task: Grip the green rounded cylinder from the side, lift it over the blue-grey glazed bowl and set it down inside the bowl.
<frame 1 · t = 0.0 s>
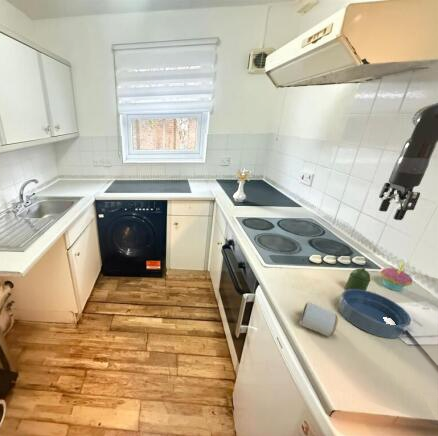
hand: (389, 215, 85), 27 cm above the worktop, tool pointing down, fingers open, 8 cm apart
green rounded cylinder: (354, 291, 89), on the worktop
ceramic mug: (313, 325, 74), on the worktop
bowl: (368, 317, 77), on the worktop
cupcake: (390, 286, 91), on the worktop
flower vase: (239, 201, 185), on the worktop
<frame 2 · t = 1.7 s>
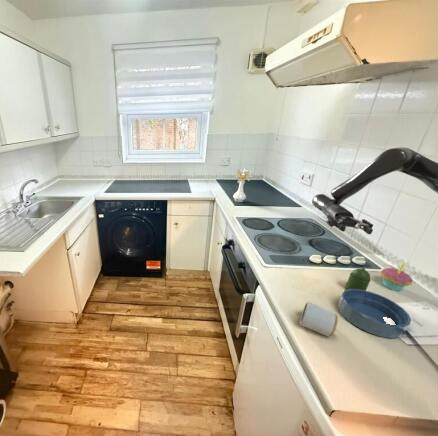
hand: (357, 230, 91), 20 cm above the worktop, tool horizontal, fingers open, 8 cm apart
nothing on the worktop moved.
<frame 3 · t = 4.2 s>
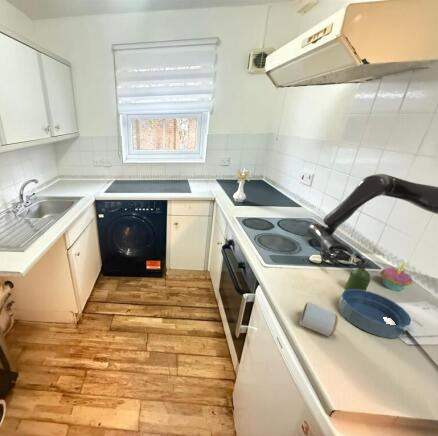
hand: (350, 266, 93), 6 cm above the worktop, tool horizontal, fingers open, 8 cm apart
nothing on the worktop moved.
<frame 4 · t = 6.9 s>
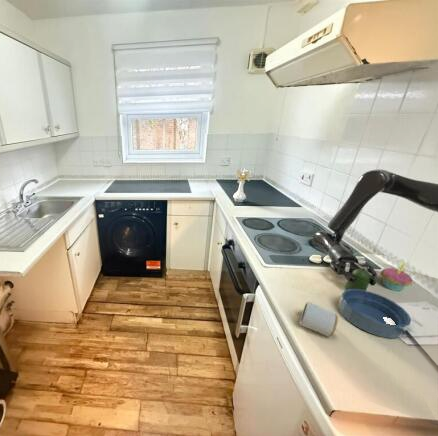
hand: (363, 282, 84), 6 cm above the worktop, tool horizontal, fingers closed on green rounded cylinder, 5 cm apart
green rounded cylinder: (354, 291, 89), on the worktop, touching gripper
everything else where it was.
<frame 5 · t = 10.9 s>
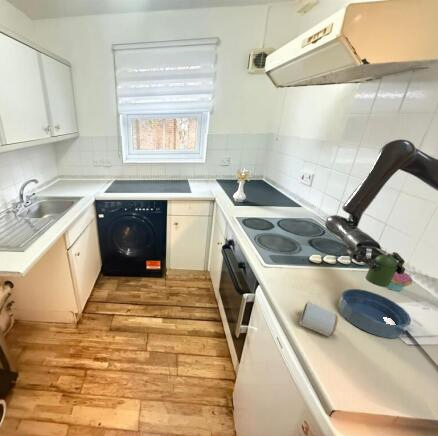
hand: (389, 270, 71), 18 cm above the worktop, tool horizontal, fingers closed on green rounded cylinder, 5 cm apart
green rounded cylinder: (376, 281, 76), point 12 cm above the worktop, touching gripper
everything else where it was.
when the fingers open (7 cm above the worktop, at t = 15.2 s): green rounded cylinder stays where it is, resting on bowl.
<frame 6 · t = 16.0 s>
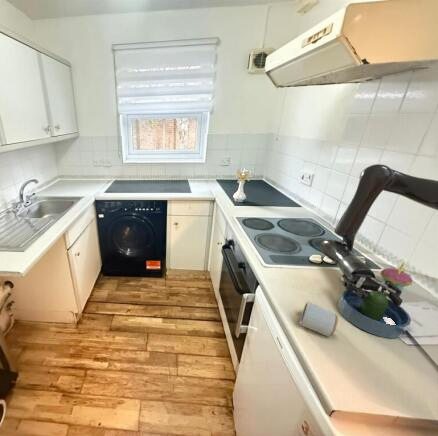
hand: (382, 300, 72), 9 cm above the worktop, tool horizontal, fingers open, 8 cm apart
green rounded cylinder: (368, 316, 77), resting on bowl
everything else where it was.
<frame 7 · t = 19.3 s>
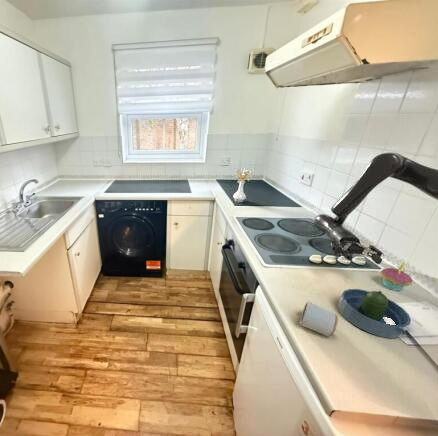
hand: (365, 260, 83), 14 cm above the worktop, tool horizontal, fingers open, 8 cm apart
nothing on the worktop moved.
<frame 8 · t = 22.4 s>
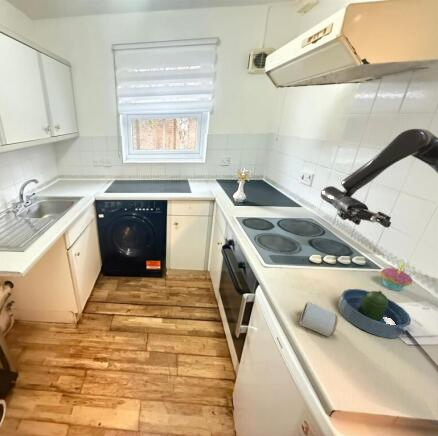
hand: (373, 223, 82), 26 cm above the worktop, tool horizontal, fingers open, 8 cm apart
nothing on the worktop moved.
at the end: green rounded cylinder inside the target area in the bowl (0.1 cm from its centre), point 0.5 cm above the bowl's base; the gripper is holding nothing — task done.
